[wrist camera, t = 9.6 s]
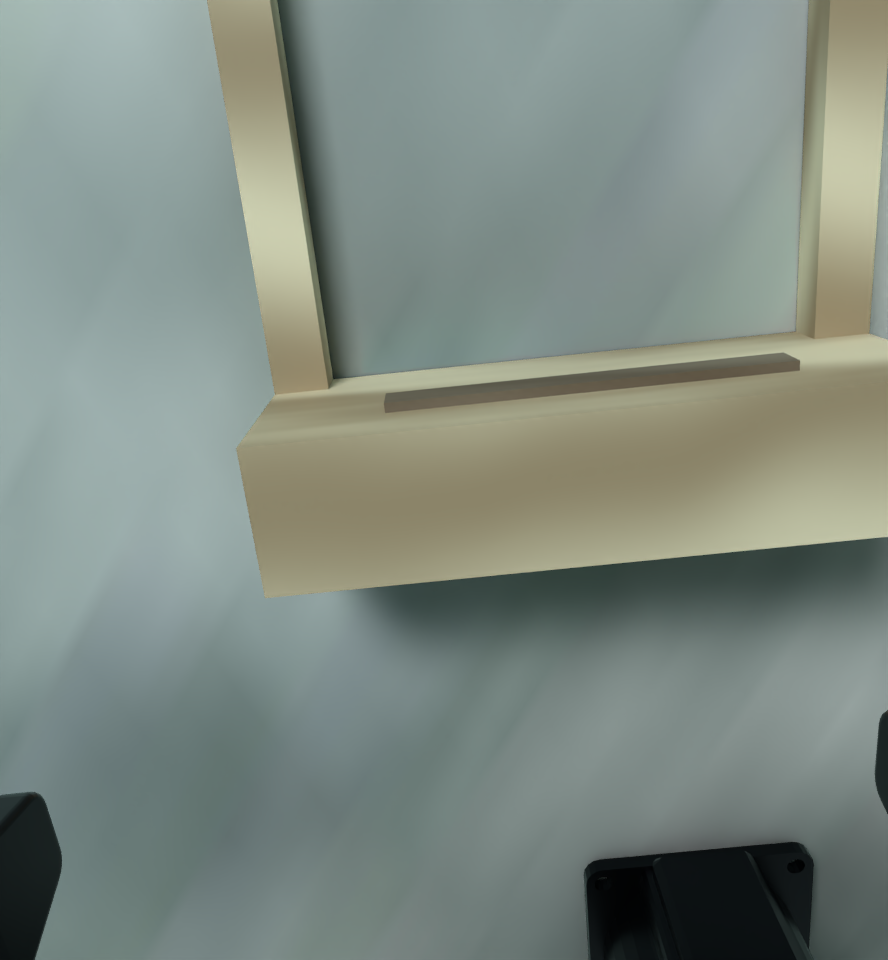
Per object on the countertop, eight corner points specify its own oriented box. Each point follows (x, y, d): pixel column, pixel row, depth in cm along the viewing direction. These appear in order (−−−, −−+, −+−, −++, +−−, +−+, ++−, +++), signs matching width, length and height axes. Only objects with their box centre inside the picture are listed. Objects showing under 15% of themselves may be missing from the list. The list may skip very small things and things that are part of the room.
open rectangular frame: (840, 449, 20) (963, 529, 16) (302, 503, 21) (264, 598, 16) (887, -339, 15) (1089, -569, 11) (174, -256, 16) (64, -444, 11)
